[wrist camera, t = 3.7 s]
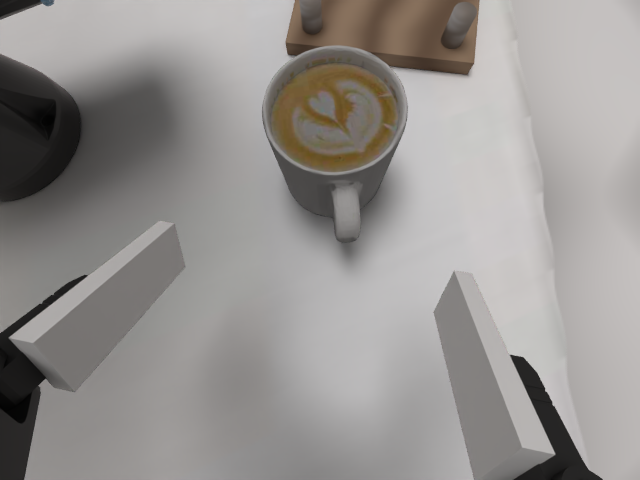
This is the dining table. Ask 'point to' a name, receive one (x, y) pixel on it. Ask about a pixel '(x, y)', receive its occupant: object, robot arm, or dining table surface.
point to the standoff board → (391, 30)
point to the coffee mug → (335, 130)
